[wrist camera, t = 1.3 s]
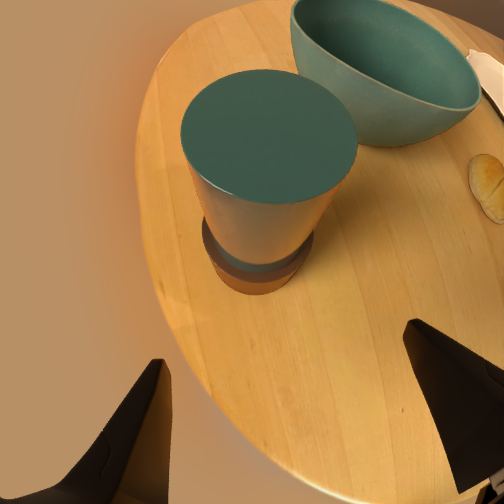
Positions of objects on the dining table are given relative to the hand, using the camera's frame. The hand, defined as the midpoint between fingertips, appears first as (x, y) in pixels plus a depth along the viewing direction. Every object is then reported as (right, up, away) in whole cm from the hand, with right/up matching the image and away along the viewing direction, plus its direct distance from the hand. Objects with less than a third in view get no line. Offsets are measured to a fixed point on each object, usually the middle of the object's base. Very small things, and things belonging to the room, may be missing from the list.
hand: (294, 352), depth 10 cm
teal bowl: (+11, +19, +20) cm, 29 cm away
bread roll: (+29, +11, +18) cm, 36 cm away
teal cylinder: (-1, +5, +9) cm, 10 cm away
